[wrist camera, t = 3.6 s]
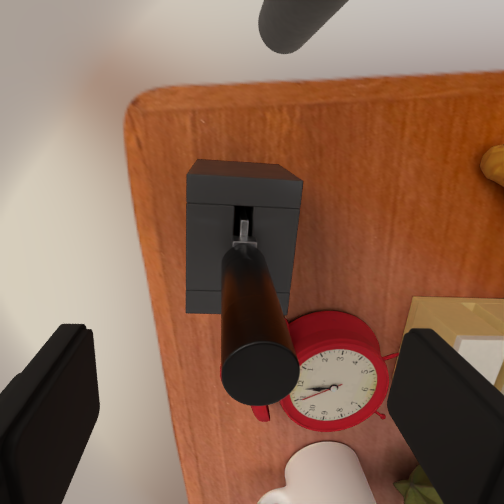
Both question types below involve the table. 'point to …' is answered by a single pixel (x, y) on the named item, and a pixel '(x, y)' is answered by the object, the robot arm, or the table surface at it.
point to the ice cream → (494, 164)
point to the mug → (322, 478)
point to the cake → (465, 330)
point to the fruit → (418, 489)
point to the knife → (253, 325)
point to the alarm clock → (334, 373)
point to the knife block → (222, 222)
